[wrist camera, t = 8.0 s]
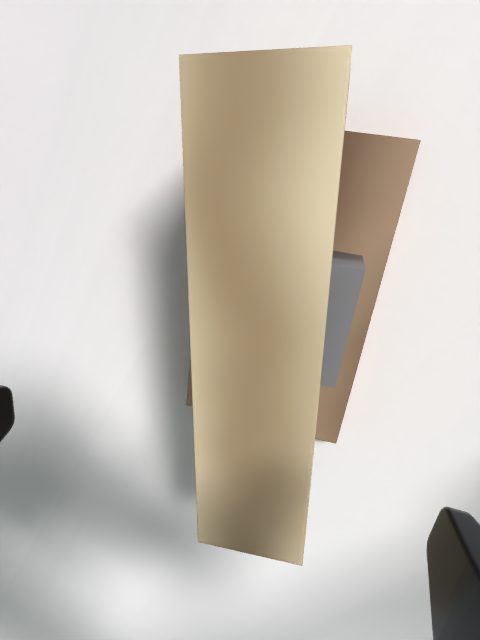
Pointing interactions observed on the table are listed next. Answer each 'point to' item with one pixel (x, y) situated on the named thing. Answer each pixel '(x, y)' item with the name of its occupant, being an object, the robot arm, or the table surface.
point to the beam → (259, 281)
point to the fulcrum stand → (357, 261)
